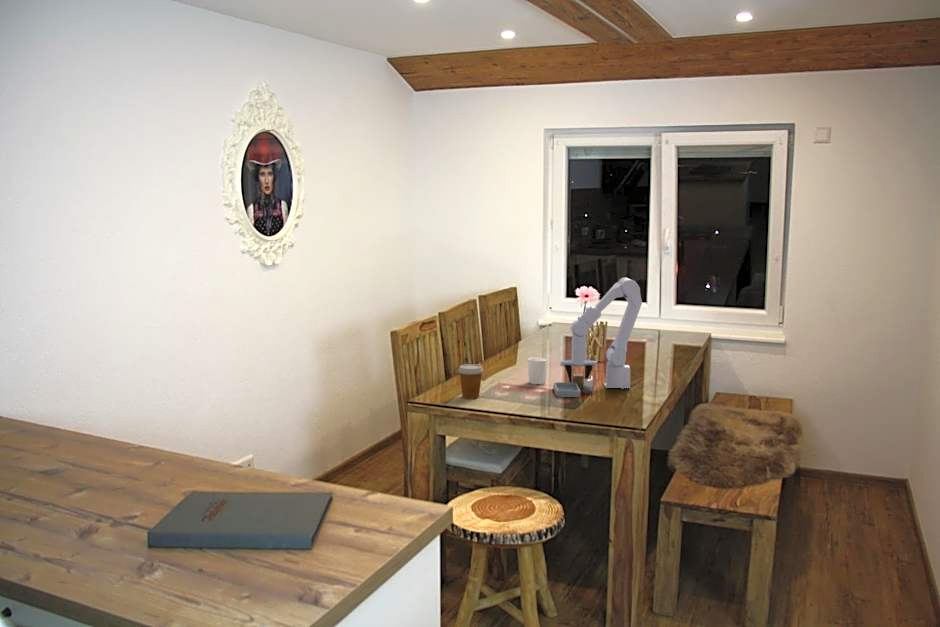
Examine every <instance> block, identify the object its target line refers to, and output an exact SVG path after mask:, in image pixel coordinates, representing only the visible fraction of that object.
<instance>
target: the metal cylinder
mask: <svg viewBox="0 0 940 627" xmlns="http://www.w3.org/2000/svg"><path fill="white" fill-rule="evenodd" d="M583 392H585V393H584V394H593V393H594V378H588V379H585V378H584V379H583V388H582V393H583ZM592 392H593V393H592Z"/></svg>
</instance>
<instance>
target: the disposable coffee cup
mask: <svg viewBox="0 0 940 627" xmlns="http://www.w3.org/2000/svg"><path fill="white" fill-rule="evenodd" d="M458 372H459V381H460V387H461V395H462V399H465V398H466V399H465V400H475V398H476V399H478V397H479V398H480V392H481V391H480V390H481V384H482V383H481V382H482V375H483V372H484V369H483V365H480V364H476V363H475V364H474V363H467V364H466V363H465V364H461V365H459V368H458Z"/></svg>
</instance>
